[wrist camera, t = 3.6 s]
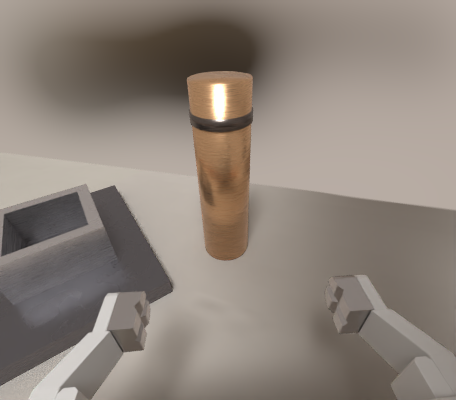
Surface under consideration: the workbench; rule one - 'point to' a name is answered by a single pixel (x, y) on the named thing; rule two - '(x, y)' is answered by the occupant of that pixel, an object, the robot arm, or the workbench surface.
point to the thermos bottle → (222, 157)
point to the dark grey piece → (66, 271)
